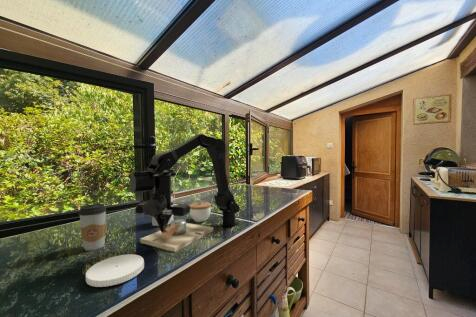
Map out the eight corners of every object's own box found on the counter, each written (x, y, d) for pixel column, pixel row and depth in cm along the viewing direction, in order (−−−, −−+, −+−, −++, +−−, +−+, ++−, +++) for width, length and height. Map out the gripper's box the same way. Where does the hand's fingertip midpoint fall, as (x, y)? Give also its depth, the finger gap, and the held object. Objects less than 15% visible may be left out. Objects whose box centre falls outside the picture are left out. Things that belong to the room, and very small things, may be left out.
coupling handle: (174, 229, 90) (174, 219, 90) (188, 229, 89) (188, 219, 89) (156, 244, 75) (156, 232, 75) (173, 244, 74) (172, 232, 74)
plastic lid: (110, 296, 51) (110, 285, 51) (73, 284, 56) (73, 274, 56) (154, 267, 64) (154, 258, 64) (121, 259, 69) (120, 251, 69)
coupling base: (181, 225, 100) (181, 221, 100) (214, 231, 91) (214, 227, 91) (140, 242, 81) (140, 238, 81) (176, 252, 72) (175, 247, 72)
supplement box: (166, 226, 99) (165, 199, 99) (151, 225, 101) (150, 198, 100) (174, 221, 106) (173, 196, 106) (160, 220, 108) (159, 195, 108)
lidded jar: (193, 216, 114) (193, 199, 114) (213, 217, 112) (213, 199, 112) (186, 223, 103) (185, 203, 103) (207, 223, 102) (207, 203, 101)
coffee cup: (78, 254, 73) (76, 210, 72) (82, 245, 80) (80, 205, 80) (106, 248, 77) (105, 206, 76) (108, 240, 84) (107, 202, 84)
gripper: (123, 192, 71) (123, 239, 71) (174, 194, 67) (175, 244, 67) (145, 187, 82) (145, 227, 82) (190, 188, 77) (190, 231, 78)
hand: (163, 232), depth 77 cm, fingers closed
